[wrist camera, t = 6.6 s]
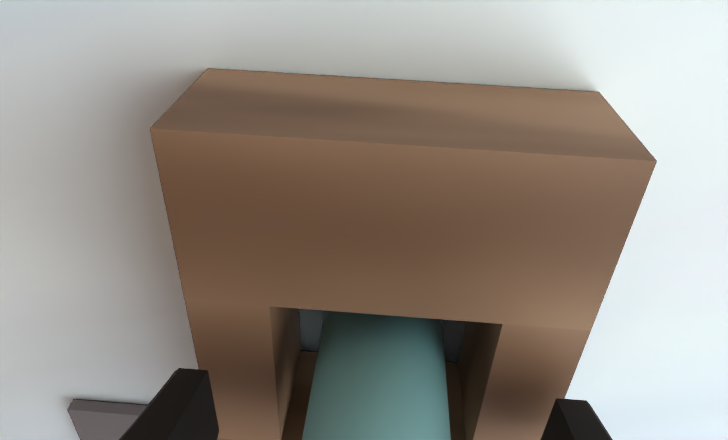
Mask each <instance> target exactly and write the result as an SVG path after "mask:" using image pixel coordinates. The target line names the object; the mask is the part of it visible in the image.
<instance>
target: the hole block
mask: <svg viewBox="0 0 728 440" xmlns="http://www.w3.org/2000/svg"><path fill="white" fill-rule="evenodd" d="M150 132H151V136H152V141H153V146H154V151H155V156H156V161H157V166H158V171H159V176H160V181H161V186H162V191H163V195H164V200H165V205H166V210H167V215H168V220H169V225H170V230H171V235H172V240H173V245H174V250H175V254H176V259H177V264H178V269H179V274H180V279H181V284H182V289H183V294H184V299H185V304H186V309H187V314H188V318H189V323H190V328H191V333H192V338H193V343H194V348H195V353H196V358H197V363H198V368H199V370H208V373H209V378H210V384H211V389H212V394H213V399H214V405H215V410H216V415H217V421H218V426H219V433H218V438H217V440H302V436H303V431H304V425H305V420H306V414H307V409H308V403H309V398H310V392H311V387H312V381H313V376H314V370H315V365H316V359H317V354H318V352H307V351H301V341H300V316H299V309H311V310H324V311H337V312H351V313H364V314H377V315H390V316H404V317H417V318H430V319H443V320H456V321H467V322H466V327H465V332H464V337H463V342H462V347H461V352H460V357H459V362H458V363H447V362H445V369H446V382H447V396H448V409H449V422H450V435H451V440H541V437H542V434H543V432H544V429H545V426H546V424H547V421H548V419H549V416H550V413H551V411H552V408H553V405H554V403H555V400H556V398H559V399H564V398H565V395H566V393H567V390H568V388H569V385H570V383H571V380H572V377H573V375H574V372H575V370H576V367H577V365H578V362H579V360H580V357H581V354H582V352H583V349H584V347H585V344H586V342H587V339H588V336H589V334H590V331H591V329H592V326H593V324H594V321H595V319H596V316H597V313H598V311H599V308H600V306H601V303H602V301H603V298H604V295H605V293H606V290H607V288H608V285H609V283H610V280H611V277H612V275H613V272H614V270H615V267H616V265H617V262H618V260H619V257H620V254H621V252H622V249H623V247H624V244H625V242H626V239H627V236H628V234H629V231H630V229H631V226H632V224H633V221H634V219H635V216H636V213H637V211H638V208H639V206H640V203H641V201H642V198H643V195H644V193H645V190H646V188H647V185H648V183H649V180H650V177H651V175H652V172H653V170H654V167H655V165H656V162H657V161H656V159H655V158H654V157H653V156H652V155H651V154H650V152H649V151H648V150H647V149H646V148H645V146H644V145H643V144H642V143H641V142H640V140H639V139H638V138H637V137H636V136H635V134H634V133H633V132H632V131H631V130H630V128H629V127H628V126H627V125H626V124H625V122H624V121H623V120H622V119H621V118H620V116H619V115H618V114H617V113H616V112H615V110H614V109H613V108H612V107H611V106H610V104H609V103H608V102H607V101H606V100H605V98H604V97H603V96H602V95H601V94H600V92H592V91H575V90H559V89H542V88H526V87H509V86H492V85H476V84H459V83H443V82H426V81H409V80H393V79H376V78H359V77H343V76H326V75H310V74H293V73H276V72H260V71H243V70H227V69H210V68H208V69H207V70H206V71H205V72H204V73H203V74H202V75H201V76H200V77H199V78H198V79H197V80H196V81H195V82H194V83H193V84H192V85H191V86H190V88H189V89H188V90H187V91H186V92H185V93H184V94H183V95H182V96H181V97H180V98H179V99H178V100H177V101H176V102H175V103H174V104H173V105H172V106H171V107H170V108H169V109H168V110H167V111H166V112H165V113H164V114H163V115H162V116H161V118H160V119H159V120H158V121H157V122H156V123H155V124H154V125H153V126H152V127H151V128H150Z"/></svg>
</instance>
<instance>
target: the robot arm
mask: <svg viewBox="0 0 728 440" xmlns="http://www.w3.org/2000/svg"><path fill="white" fill-rule="evenodd" d="M218 433H219V426H218V421H217V415H216V410H215V405H214V399H213V394H212V389H211V384H210V378H209V373H208V370H197V369H184V368H179V369H178V370H176V371H175V372H174V373H173V374H172V376H171V377H170V378H169V380H168V381H167V382H166V383H165V385H164V386H163V387H162V388H161V390H160V391H159V392H158V393H157V395H156V396H155V397H154V398H153V400H152V401H151V402H150V403H149V404H148V406H147V407H146V408H145V409H144V411H143V412H142V413H141V414H140V415H139V417H138V418H137V419H136V420H135V421H134V423H133V424H132V425H131V426H130V427H129V428H128V430H127V431H126V432H125V433H124V434H123V435H122V436H121V438H120V439H119V440H217V438H218ZM541 440H612V438H611V437H610V435H609V433H608V432H607V430H606V429H605V427H604V426H603V424H602V423H601V421H600V420H599V418H598V416H597V415H596V413H595V412H594V410H593V409H592V407H591V406H590V404H589V403H588V402H587V401H584V400H571V399H559V398H556V400H555V403H554V405H553V408H552V411H551V413H550V416H549V419H548V421H547V424H546V426H545V429H544V432H543V434H542V437H541Z"/></svg>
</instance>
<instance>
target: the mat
mask: <svg viewBox="0 0 728 440" xmlns="http://www.w3.org/2000/svg"><path fill="white" fill-rule="evenodd" d="M147 406H148V405H136V404H124V403H111V402H99V401H87V400H75V399H74V400H73V401H72V403H71V404H70V406H69V408H68V409H67V410H68V413H69V415H70V417H71V419H72V422H73V424H74V426H75V429H76V431H77V433H78V435H79V438H80V440H119V439H120V438H121V436H122V435H123V434H124V433H125V432H126V431H127V430H128V428H129V427H130V426H131V425H132V424H133V423H134V421H135V420H136V419H137V418H138V417H139V415H140V414H141V413H142V412H143V411H144V409H145V408H146V407H147Z"/></svg>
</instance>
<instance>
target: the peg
mask: <svg viewBox="0 0 728 440" xmlns="http://www.w3.org/2000/svg"><path fill="white" fill-rule="evenodd" d="M302 440H451V435H450V422H449V409H448V396H447V382H446V369H445V356H444V343H443V329H442V319H430V318H417V317H404V316H390V315H377V314H364V313H351V312H337V311H325V315H324V321H323V326H322V332H321V337H320V343H319V348H318V354H317V359H316V365H315V370H314V376H313V381H312V387H311V392H310V398H309V403H308V409H307V414H306V420H305V425H304V431H303V436H302Z"/></svg>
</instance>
